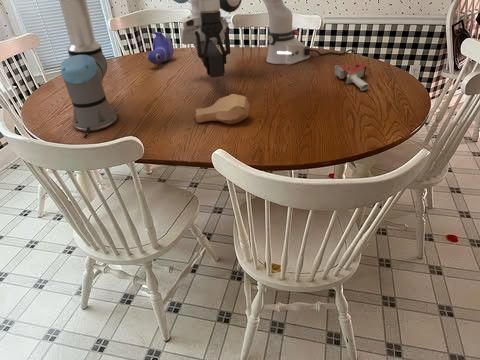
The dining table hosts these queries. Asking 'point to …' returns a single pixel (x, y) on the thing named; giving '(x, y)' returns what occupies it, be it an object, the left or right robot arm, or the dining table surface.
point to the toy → (161, 49)
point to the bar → (214, 59)
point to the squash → (225, 110)
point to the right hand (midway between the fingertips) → (206, 52)
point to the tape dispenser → (353, 74)
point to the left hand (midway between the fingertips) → (215, 72)
